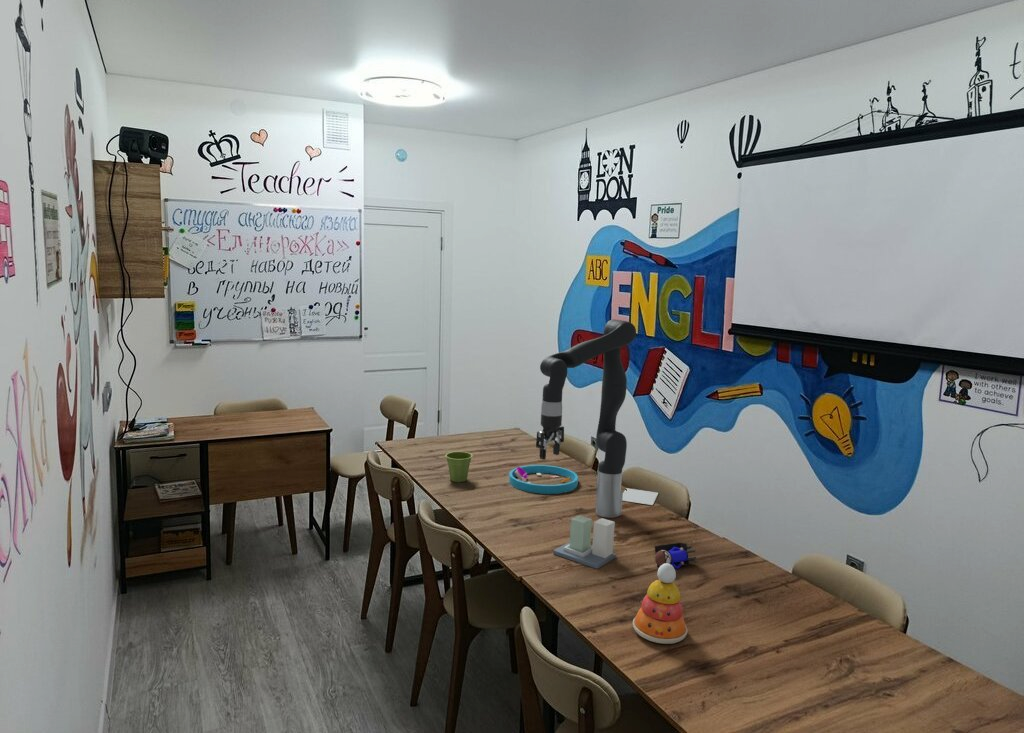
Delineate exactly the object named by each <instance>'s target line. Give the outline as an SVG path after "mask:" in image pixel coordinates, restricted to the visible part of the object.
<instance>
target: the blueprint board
mask: <svg viewBox="0 0 1024 733" xmlns="http://www.w3.org/2000/svg"><path fill="white" fill-rule="evenodd" d="M569 546H570V541H568V542H566V543H564V544H563V545H560V546H559V547H557V548H555V549H553V550H552V554H553V555H556V556H558V557H561V558H564V559H567V560H569V561H570V560H571V561H573V562H576V563H579V564H581V565H584V566H588V567H590V568H593V569H596V570H598V569H599V568H601V567H602V566H604V565H606V564H607V563H609V562H611V561H612V560H614V559H616V558H617V554H616V553H614V552H613V554H611V555H610V556H608V557H606V558H603V557H600V556H597V555H594V554H592V545H591V544H590V549H589V550H587V551H585V552H583V553H582V552H579V551H576V550H573V549H570V548H569Z"/></svg>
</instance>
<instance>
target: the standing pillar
mask: <svg viewBox="0 0 1024 733" xmlns="http://www.w3.org/2000/svg"><path fill="white" fill-rule="evenodd" d="M615 523H616V522H615V521H613V520H609V519H608V518H604V517H601V518H599V519H596V520H595V521H593V528H592V529H593V530H592V554H594V555H597V556H600V557H603V558H606V557H608V556H610V555H611V554H613V553H614V542H615V541H614V540H615V526H616V525H615Z"/></svg>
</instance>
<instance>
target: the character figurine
mask: <svg viewBox="0 0 1024 733" xmlns="http://www.w3.org/2000/svg"><path fill="white" fill-rule="evenodd" d="M687 544H688V543H686V542H675V543H673V542H672V543H668V544H667V543H666V544H659V545H658V544H657V545H654V553H655V556H654V560H655V563H656V567H657V568H659V567H660V566H661V565H663V564H665V563H668V564H670V565H672V566H673V567H674V569H675V570H676V569H677V570H678V569H679V568H680V567H681V566H683V565H690V563H691V562H696V559H697V556H692V557H689V554H693V553H696V552H697V550H695V549H693V546H692V545H687Z"/></svg>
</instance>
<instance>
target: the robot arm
mask: <svg viewBox="0 0 1024 733" xmlns="http://www.w3.org/2000/svg"><path fill="white" fill-rule="evenodd" d="M636 337H637V329H636V327H635V325H634V324H633V323H632V322H630V321H627V320H620V319H610V320H608V321H607V322H606V323H605V326H604V329H603V335H601V336H600V337H596V338H593V339H590V340H585V341H583V342H580V343H577V344H576V345H574V346H571V347H570V348H568V349H567V350H564V351H560V352H557V353H555V354H551V355H549V356H547V357H545V358H544V359H543V360H542V361H541V362H540V366H539V368H540V372H541V374H542V375H543V376H546V377H548V378H549V381H548V383H546V384H545V385H544V386H543V388H542V400H541V401H542V403H541V410H540V411H541V412H540V426H541V427H542V431H539V430H537V432H536V438H535V441H536V442H535V448H537V449H539V459H541V460H546V458H547V447H548V445H550V443H551V442H553V449H552V454H553V455H556V456H559V455H560V451H561V450H560V449H561V448H560V447H561V446H560V445H562V443H564V442H565V426H562V421H563V390H564V386H565V384H566V381H567V380H566V379H567V377H568V369H575V368H577V367H579V366H581V365H582V364H584V363H586V362H588V361H590V360H592V359H595V358H596V357H599V356H601V355H603V368H602V369H603V370H602V380H601V397H600V398H601V399H600V408H599V409H600V410H599V411H600V412H599V418H598V423H597V424H598V425H597V429H596V435H595V436H596V437H595V443H596V447H597V449H599V450H600V451H602V452H603V453H604V460H602V461H600V462H599V463H598V465H597V481H596V482H597V483H596V498H595V500H596V501H595V514H596V515H597V516H599V517H601V518H605V519H609V518H610V519H611V518H617V517H619V516H622V512H623V511H622V510H623V501H622V499H623V492H624V491H623V490H622V479H623V478H622V477H623V468H624V466H625V464H626V457H627V448H628V447H627V446H628V444H627V443H628V442H627V437H626V436H625V434H623V433H622V432H619V431H617V429H616V426H617V424H616V423H617V416H618V414H619V411H620V410H621V408H622V406H623V405H624V402H625V400H626V395H627V384H628V379H627V374H626V371H625V368H624V365H623V362H622V357H621V348H622V347H625V346H627V345H631V344H632V342H634V341H635V338H636Z"/></svg>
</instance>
